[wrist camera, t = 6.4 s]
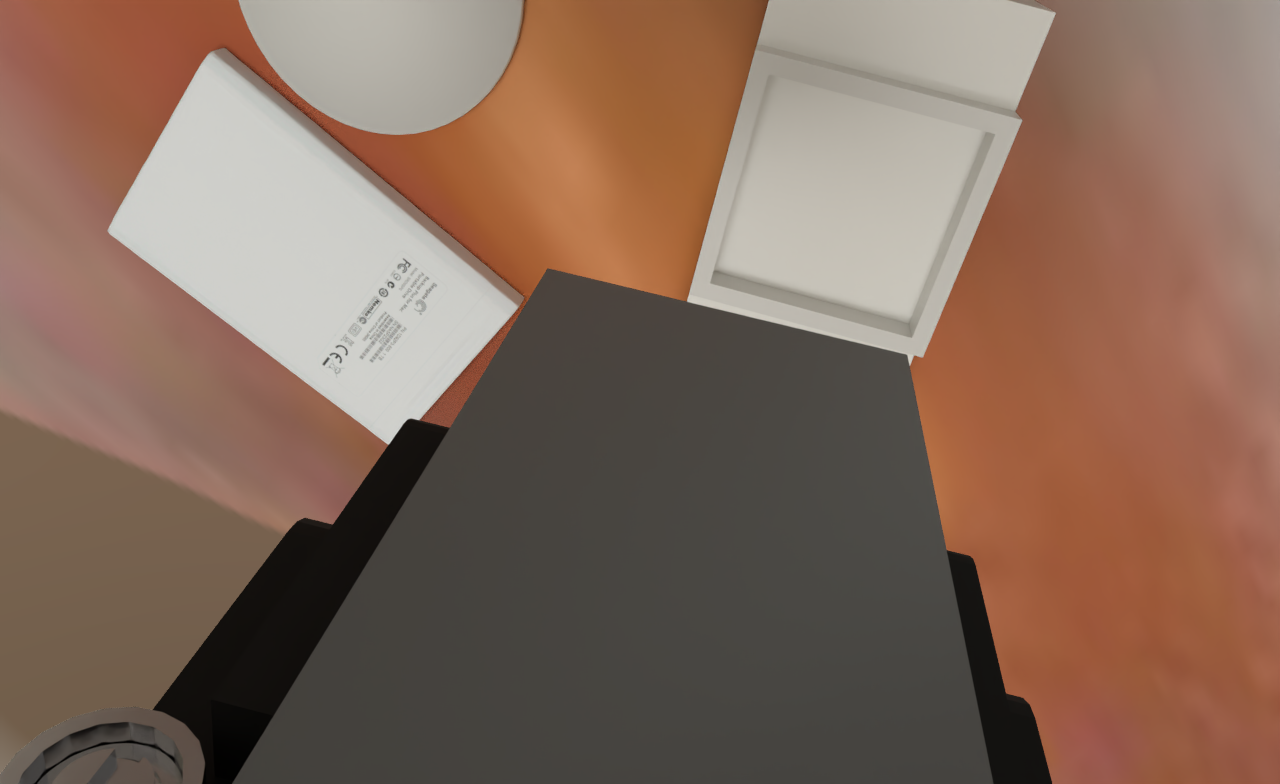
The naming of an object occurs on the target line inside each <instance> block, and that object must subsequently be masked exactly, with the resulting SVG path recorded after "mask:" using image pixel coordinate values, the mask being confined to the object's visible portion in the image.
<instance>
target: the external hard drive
mask: <svg viewBox="0 0 1280 784" xmlns="http://www.w3.org/2000/svg"><path fill="white" fill-rule="evenodd" d="M108 232H109V234H110V235H112V236H113V237H114V238H116V239H117V240H118V241H120V242H121V243H122V244H124V245H125V246H126V247H128V248H129V249H130V250H132V251H133V252H134V253H135V254H137V255H138V256H139V257H141V258H142V259H143V260H145V261H146V262H147V263H149V264H150V265H151V266H153V267H154V268H155V269H157V270H158V271H159V272H161V273H162V274H163V275H165V276H166V277H167V278H169V279H170V280H171V281H173V282H174V283H175V284H177V285H178V286H179V287H180V288H182V289H183V290H184V291H186V292H187V293H188V294H190V295H191V296H192V297H194V298H195V299H196V300H198V301H199V302H200V303H202V304H203V305H204V306H206V307H207V308H208V309H210V310H211V311H212V312H213V313H215V314H216V315H217V316H219V317H220V318H221V319H223V320H224V321H225V322H227V323H228V324H229V325H231V326H232V327H233V328H235V329H236V330H237V331H239V332H240V333H241V334H243V335H244V336H245V337H247V338H248V339H249V340H251V341H252V342H253V343H254V344H256V345H257V346H258V347H260V348H261V349H262V350H264V351H265V352H266V353H268V354H269V355H270V356H272V357H273V358H274V359H276V360H277V361H278V362H280V363H281V364H282V365H283V366H285V367H286V368H287V369H289V370H290V371H291V372H293V373H294V374H295V375H297V376H298V377H299V378H301V379H302V380H303V381H305V382H306V383H307V384H309V385H310V386H311V387H312V388H314V389H315V390H316V391H318V392H319V393H321V394H322V395H323V396H325V397H326V398H327V399H329V400H330V401H331V402H333V403H334V404H335V405H337V406H338V407H339V408H341V409H342V410H343V411H345V412H346V413H347V414H349V415H350V416H351V417H353V418H354V419H355V420H357V421H358V422H359V423H361V424H362V425H363V426H365V427H366V428H367V429H369V430H370V431H371V432H372V433H373V434H375V435H376V436H377V437H379V438H380V439H381V440H383V441H384V442H385V443H387V444H388V445H389V444H390V442H391V441H392V439H393V438H394V437H395V435H396V434H397V432H398V431H399V429H400V428H401V427H402V425H403V424H404V423H405V422H406V420H407V419H411V418H412V419H416V420H420V419H421V418H422V416H423V415H424V414H425V413H426V412H427V411H428V410H429V409H430V407H431V406H432V405H433V404H434V403H435V402H436V401H437V400H438V398H439V397H440V396H441V395H442V394H443V393H444V391H445V390H446V389H447V388H448V387H449V386H450V385H451V384H452V383H453V381H454V380H455V379H456V378H457V377H458V376H459V375H460V374H461V372H462V371H463V370H464V369H465V368H466V367H467V366H468V365H469V363H470V362H471V361H472V360H473V359H474V358H475V357H476V356H477V355H478V353H479V352H480V351H481V350H482V349H483V348H484V347H485V345H486V344H487V343H488V342H489V341H490V340H491V339H492V338H493V336H494V335H495V334H496V333H497V332H498V331H499V330H500V329H501V327H502V326H503V325H504V324H505V323H506V322H507V321H508V320H509V318H510V317H511V316H512V315H513V314H514V313H515V311H516V310H517V309H518V308H519V306H520V305H521V303H522V302H523V300H524V297H523V296H522V295H521V294H520V293H518V292H517V291H516V290H515V289H514V288H512V287H511V286H510V285H509V284H508V283H507V282H505V281H504V280H503V279H502V278H500V277H499V276H498V275H497V274H496V273H495V272H493V271H492V270H491V269H490V268H489V267H487V266H486V265H485V264H484V263H483V262H481V261H480V260H479V259H478V258H476V257H475V256H474V255H473V254H472V253H471V252H469V251H468V250H467V249H466V248H465V247H463V246H462V245H461V244H460V243H459V242H457V241H456V240H455V239H454V238H453V237H451V236H450V235H449V234H448V233H447V232H445V231H444V230H443V229H442V228H441V227H439V226H438V225H437V224H436V223H435V222H433V221H432V220H431V219H430V218H429V217H427V216H426V215H425V214H424V213H423V212H421V211H420V210H419V209H418V208H417V207H416V206H414V205H413V204H412V203H411V202H410V201H408V200H407V199H406V198H405V197H404V196H402V195H401V194H400V193H399V192H398V191H396V190H395V189H394V188H393V187H391V186H390V185H389V184H388V183H387V182H385V181H384V180H383V179H382V178H381V177H380V176H378V175H377V174H376V173H375V172H373V171H372V170H371V169H370V168H369V167H367V166H366V165H365V164H364V163H363V162H361V161H360V160H359V159H358V158H357V157H355V156H354V155H353V154H352V153H351V152H349V151H348V150H347V149H346V148H345V147H343V146H342V145H341V144H340V143H339V142H337V141H336V140H335V139H334V138H333V137H331V136H330V135H329V134H328V133H327V132H325V131H324V130H323V129H322V128H321V127H320V126H318V125H317V124H316V123H315V122H314V121H312V120H311V119H310V118H309V117H308V116H306V115H305V114H304V113H303V112H301V111H300V110H299V109H298V108H297V107H295V106H294V105H293V104H292V103H290V102H289V101H288V100H287V99H286V98H284V97H283V96H282V95H281V94H280V93H279V92H277V91H276V90H275V89H274V88H273V87H271V86H270V85H269V84H268V83H267V82H265V81H264V80H263V79H262V78H261V77H259V76H258V75H257V74H256V73H255V72H253V71H252V70H251V69H250V68H248V67H247V66H246V65H245V64H244V63H242V62H241V61H240V60H239V59H237V58H236V57H235V56H234V55H233V54H232V53H230V52H229V51H228V50H227V49H226V48H221V49H218V50H214V51H211V52H210V53H209V54H208V55H207V57H206V58H205V59H204V61H203V62H202V63H201V65H200V67H199V68H198V70H197V72H196V73H195V75H194V77H193V79H192V81H191V83H190V84H189V86H188V88H187V89H186V91H185V93H184V95H183V97H182V98H181V100H180V102H179V104H178V105H177V107H176V109H175V111H174V112H173V114H172V116H171V118H170V120H169V121H168V123H167V125H166V127H165V129H164V130H163V132H162V134H161V135H160V137H159V139H158V141H157V142H156V144H155V146H154V148H153V150H152V152H151V153H150V155H149V157H148V159H147V161H146V162H145V163H144V165H143V167H142V169H141V171H140V172H139V174H138V176H137V178H136V180H135V181H134V183H133V185H132V187H131V188H130V190H129V192H128V194H127V196H126V197H125V199H124V201H123V202H122V204H121V206H120V207H119V209H118V211H117V213H116V215H115V216H114V219H113V221H112V223H111V225H110V226H109V229H108Z"/></svg>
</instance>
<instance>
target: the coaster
mask: <svg viewBox="0 0 1280 784" xmlns="http://www.w3.org/2000/svg"><path fill="white" fill-rule="evenodd" d="M524 1H525V0H239V4H240V7H241V10H242V12H243V15H244V17H245V20H246V23H247V25H248V28H249V30H250V31H251V33H252V35H253V37H254V39H255V41H256V43H257V45H258V47H259V48H260V50H261V51H262V53H263V54H264V56H265V57H266V59H267V61H268V62H269V64H270V65H271V66H272V67H273V68H274V70H275V71H276V72H277V73H278V75H279V76H280V77H281V78H282V79H283V80H284V81H285V82H286V83H287V84H288V85H289V86H290V87H291V88H292V89H293V90H294V91H295V92H296V93H297V94H298V95H299V96H300V97H302V98H303V99H304V100H305V101H307V102H308V103H309V104H310V105H312V106H313V107H315V108H316V109H318V110H319V111H321V112H323V113H324V114H326V115H327V116H329V117H331V118H333V119H335V120H337V121H340V122H342V123H344V124H346V125H349V126H352V127H355V128H358V129H361V130H364V131H369V132H374V133H379V134H393V135H402V134H415V133H420V132H425V131H429V130H433V129H436V128H438V127H441V126H443V125H446V124H448V123H450V122H452V121H454V120H456V119H457V118H459V117H461V116H463V115H464V114H466V113H467V112H468V111H469V110H471V109H472V108H473V107H475V106H476V105H477V104H478V103H480V102H481V101H482V100H483V99H484V98H485V97H486V96H487V95H488V94H489V92H490V91H491V90H492V89H493V88H494V87H495V85H496V84H497V82H498V81H499V80H500V78H501V77H502V75H503V74H504V72H505V70H506V68H507V66H508V64H509V62H510V60H511V58H512V56H513V53H514V50H515V48H516V45H517V42H518V39H519V35H520V30H521V26H522V21H523V12H524Z"/></svg>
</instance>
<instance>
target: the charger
mask: <svg viewBox="0 0 1280 784" xmlns="http://www.w3.org/2000/svg"><path fill="white" fill-rule="evenodd" d="M232 784H993V779H992V774H991V769H990V764H989V759H988V754H987V749H986V744H985V739H984V734H983V729H982V724H981V719H980V714H979V710H978V705H977V700H976V695H975V690H974V685H973V680H972V675H971V670H970V665H969V660H968V655H967V650H966V645H965V640H964V635H963V630H962V625H961V620H960V615H959V610H958V605H957V600H956V595H955V590H954V585H953V580H952V575H951V570H950V565H949V560H948V555H947V550H946V545H945V540H944V535H943V530H942V525H941V520H940V515H939V510H938V505H937V500H936V495H935V490H934V485H933V480H932V475H931V470H930V465H929V461H928V456H927V451H926V446H925V441H924V436H923V431H922V426H921V421H920V416H919V411H918V406H917V401H916V396H915V391H914V386H913V381H912V376H911V371H910V366H909V361H908V356H907V354H902V353H898V352H894V351H890V350H886V349H882V348H877V347H873V346H869V345H865V344H861V343H857V342H852V341H848V340H844V339H840V338H836V337H832V336H827V335H823V334H819V333H815V332H811V331H807V330H802V329H798V328H794V327H790V326H786V325H782V324H777V323H773V322H769V321H765V320H761V319H757V318H752V317H748V316H744V315H740V314H736V313H732V312H727V311H723V310H719V309H715V308H711V307H707V306H702V305H698V304H694V303H690V302H686V301H682V300H677V299H673V298H669V297H665V296H661V295H657V294H652V293H648V292H644V291H640V290H636V289H632V288H627V287H623V286H619V285H615V284H611V283H607V282H602V281H598V280H594V279H590V278H586V277H582V276H577V275H573V274H569V273H565V272H561V271H557V270H552V269H547V270H546V272H545V274H544V275H543V277H542V279H541V280H540V282H539V284H538V285H537V287H536V288H535V290H534V292H533V293H532V295H531V297H530V298H529V300H528V301H527V303H526V305H525V306H524V308H523V310H522V311H521V313H520V315H519V316H518V318H517V319H516V321H515V323H514V324H513V326H512V328H511V329H510V331H509V332H508V334H507V336H506V337H505V339H504V341H503V342H502V344H501V346H500V347H499V349H498V350H497V352H496V354H495V355H494V357H493V359H492V360H491V362H490V364H489V365H488V367H487V368H486V370H485V372H484V373H483V375H482V377H481V378H480V380H479V381H478V383H477V385H476V386H475V388H474V390H473V391H472V393H471V395H470V396H469V398H468V399H467V401H466V403H465V404H464V406H463V408H462V409H461V411H460V412H459V414H458V416H457V417H456V419H455V421H454V422H453V424H452V426H451V427H450V429H449V430H448V432H447V434H446V435H445V437H444V439H443V440H442V442H441V444H440V445H439V447H438V448H437V450H436V452H435V453H434V455H433V457H432V458H431V460H430V461H429V463H428V465H427V466H426V468H425V470H424V471H423V473H422V475H421V476H420V478H419V479H418V481H417V483H416V484H415V486H414V488H413V489H412V491H411V493H410V494H409V496H408V497H407V499H406V501H405V502H404V504H403V506H402V507H401V509H400V510H399V512H398V514H397V515H396V517H395V519H394V520H393V522H392V524H391V525H390V527H389V528H388V530H387V532H386V533H385V535H384V537H383V538H382V540H381V541H380V543H379V545H378V546H377V548H376V550H375V551H374V553H373V555H372V556H371V558H370V559H369V561H368V563H367V564H366V566H365V568H364V569H363V571H362V573H361V574H360V576H359V577H358V579H357V581H356V582H355V584H354V586H353V587H352V589H351V590H350V592H349V594H348V595H347V597H346V599H345V600H344V602H343V604H342V605H341V607H340V608H339V610H338V612H337V613H336V615H335V617H334V618H333V620H332V622H331V623H330V625H329V626H328V628H327V630H326V631H325V633H324V635H323V636H322V638H321V639H320V641H319V643H318V644H317V646H316V648H315V649H314V651H313V653H312V654H311V656H310V657H309V659H308V661H307V662H306V664H305V666H304V667H303V669H302V670H301V672H300V674H299V675H298V677H297V679H296V680H295V682H294V684H293V685H292V687H291V688H290V690H289V692H288V693H287V695H286V697H285V698H284V700H283V702H282V703H281V705H280V706H279V708H278V710H277V711H276V713H275V715H274V716H273V718H272V719H271V721H270V723H269V724H268V726H267V728H266V729H265V731H264V733H263V734H262V736H261V737H260V739H259V741H258V742H257V744H256V746H255V747H254V749H253V750H252V752H251V754H250V755H249V757H248V759H247V760H246V762H245V764H244V765H243V767H242V768H241V770H240V772H239V773H238V775H237V777H236V778H235V780H234V782H233V783H232Z"/></svg>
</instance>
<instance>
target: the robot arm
mask: <svg viewBox="0 0 1280 784" xmlns="http://www.w3.org/2000/svg"><path fill="white" fill-rule="evenodd" d="M449 429H450V428H448V427H444V426H440V425H436V424H432V423H428V422H424V421H420V420H416V419H412V418H411V419H407V420H406V422H405V423H404V424H403V425H402V427H401V428H400V429H399V431H398V432H397V434H396V435H395V437H394V438H393V439H392V441H391V442H390V444H389V445H388V447H387V448H386V449H385V451H384V452H383V454H382V455H381V457H380V458H379V459H378V461H377V462H376V464H375V465H374V467H373V468H372V469H371V471H370V472H369V474H368V475H367V477H366V478H365V480H364V481H363V482H362V484H361V485H360V487H359V488H358V490H357V491H356V492H355V494H354V495H353V497H352V498H351V500H350V501H349V502H348V504H347V505H346V507H345V508H344V510H343V511H342V512H341V514H340V515H339V517H338V518H337V520H336V521H335V522H334V524H333V525H332V524H328V523H324V522H320V521H316V520H312V519H308V518H303V519H301V520H299V521H297V522H296V523H295V524H294V525H293V526H292V527H291V529H290V530H289V531H288V532H287V533H286V535H285V536H284V537H283V539H282V540H281V541H280V543H279V544H278V545H277V547H276V548H275V549H274V551H273V552H272V553H271V554H270V556H269V557H268V558H267V560H266V561H265V562H264V564H263V565H262V566H261V568H260V569H259V570H258V572H257V573H256V574H255V575H254V577H253V578H252V580H251V581H250V582H249V584H248V585H247V586H246V587H245V589H244V590H243V592H242V593H241V594H240V595H239V597H238V598H237V599H236V601H235V602H234V603H233V605H232V606H231V607H230V608H229V610H228V611H227V613H226V614H225V615H224V616H223V618H222V619H221V620H220V622H219V623H218V625H217V626H216V627H215V628H214V630H213V631H212V632H211V634H210V635H209V636H208V638H207V639H206V640H205V641H204V643H203V644H202V646H201V647H200V648H199V650H198V651H197V652H196V653H195V655H194V656H193V657H192V659H191V660H190V661H189V663H188V664H187V665H186V667H185V668H184V669H183V671H182V672H181V673H180V675H179V676H178V677H177V678H176V680H175V681H174V682H173V684H172V685H171V686H170V688H169V689H168V690H167V692H166V693H165V694H164V696H163V697H162V698H161V700H160V701H159V702H158V704H157V705H156V706H155V707H154V709H153V710H149V709H144V708H139V707H124V708H106V709H101V710H97V711H94V712H90V713H86V714H83V715H79V716H75V717H72V718H70V719H68V720H66V721H64V722H62V723H60V724H58V725H57V726H54V727H52V728H50V729H48V730H46V731H45V732H42V733H41V734H40V735H38V736H37V737H36V738H35V739H34V740H32V741H31V742H30V743H28V744H27V745H26V746H25V747H23V748H22V749H21V750H20V751H18V752H17V753H16V754H15V756H14V757H13V758H12V759H11V761H10V762H9V763H8V765H7V766H6V767H5V769H4V770H3V771H2V772H1V774H0V784H232V783H233V782H234V780H235V778H236V777H237V775H238V773H239V772H240V770H241V768H242V767H243V765H244V764H245V762H246V760H247V759H248V757H249V755H250V754H251V752H252V750H253V749H254V747H255V746H256V744H257V742H258V741H259V739H260V737H261V736H262V734H263V733H264V731H265V729H266V728H267V726H268V724H269V723H270V721H271V719H272V718H273V716H274V715H275V713H276V711H277V710H278V708H279V706H280V705H281V703H282V702H283V700H284V698H285V697H286V695H287V693H288V692H289V690H290V688H291V687H292V685H293V684H294V682H295V680H296V679H297V677H298V675H299V674H300V672H301V670H302V669H303V667H304V666H305V664H306V662H307V661H308V659H309V657H310V656H311V654H312V653H313V651H314V649H315V648H316V646H317V644H318V643H319V641H320V639H321V638H322V636H323V635H324V633H325V631H326V630H327V628H328V626H329V625H330V623H331V622H332V620H333V618H334V617H335V615H336V613H337V612H338V610H339V608H340V607H341V605H342V604H343V602H344V600H345V599H346V597H347V595H348V594H349V592H350V590H351V589H352V587H353V586H354V584H355V582H356V581H357V579H358V577H359V576H360V574H361V573H362V571H363V569H364V568H365V566H366V564H367V563H368V561H369V559H370V558H371V556H372V555H373V553H374V551H375V550H376V548H377V546H378V545H379V543H380V541H381V540H382V538H383V537H384V535H385V533H386V532H387V530H388V528H389V527H390V525H391V524H392V522H393V520H394V519H395V517H396V515H397V514H398V512H399V510H400V509H401V507H402V506H403V504H404V502H405V501H406V499H407V497H408V496H409V494H410V493H411V491H412V489H413V488H414V486H415V484H416V483H417V481H418V479H419V478H420V476H421V475H422V473H423V471H424V470H425V468H426V466H427V465H428V463H429V461H430V460H431V458H432V457H433V455H434V453H435V452H436V450H437V448H438V447H439V445H440V444H441V442H442V440H443V439H444V437H445V435H446V434H447V432H448V430H449ZM947 555H948V560H949V565H950V570H951V575H952V580H953V585H954V590H955V595H956V600H957V605H958V610H959V615H960V620H961V625H962V630H963V635H964V640H965V645H966V650H967V655H968V660H969V665H970V670H971V675H972V680H973V685H974V690H975V695H976V700H977V705H978V710H979V714H980V719H981V724H982V729H983V734H984V739H985V744H986V749H987V754H988V759H989V764H990V769H991V774H992V779H993V784H1052V781H1051V777H1050V773H1049V769H1048V765H1047V762H1046V758H1045V754H1044V750H1043V746H1042V743H1041V739H1040V735H1039V731H1038V727H1037V724H1036V720H1035V717H1034V714H1033V712H1032V709H1031V707H1030V705H1029V704H1028V703H1027V702H1026V701H1025V700H1024V699H1023V698H1021V697H1017V696H1013V695H1009V694H1006V692H1005V688H1004V684H1003V679H1002V675H1001V671H1000V667H999V663H998V658H997V654H996V650H995V646H994V641H993V637H992V633H991V629H990V625H989V620H988V616H987V612H986V608H985V603H984V599H983V595H982V591H981V587H980V582H979V578H978V574H977V570H976V565H975V563H974V560H973V558H971V557H970V556H968V555H964V554H960V553H956V552H952V551H948V550H947Z"/></svg>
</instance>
